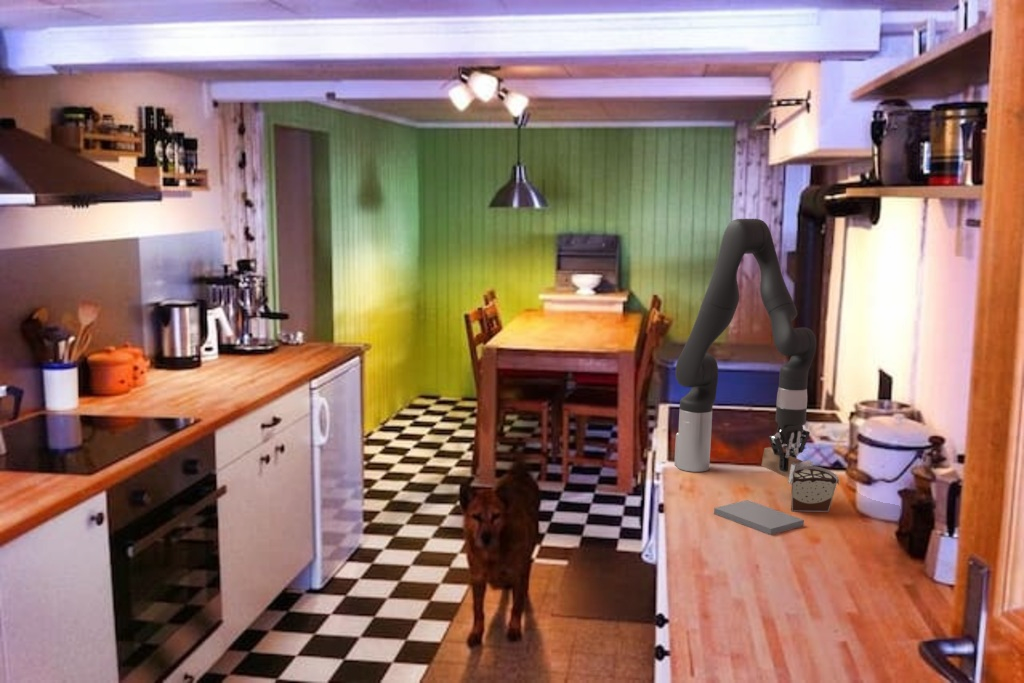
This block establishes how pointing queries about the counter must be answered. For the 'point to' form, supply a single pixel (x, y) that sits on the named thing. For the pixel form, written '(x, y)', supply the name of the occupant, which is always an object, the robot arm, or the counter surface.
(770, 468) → the brown and grey block
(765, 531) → the grey cutting board
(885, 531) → the counter surface
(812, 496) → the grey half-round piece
